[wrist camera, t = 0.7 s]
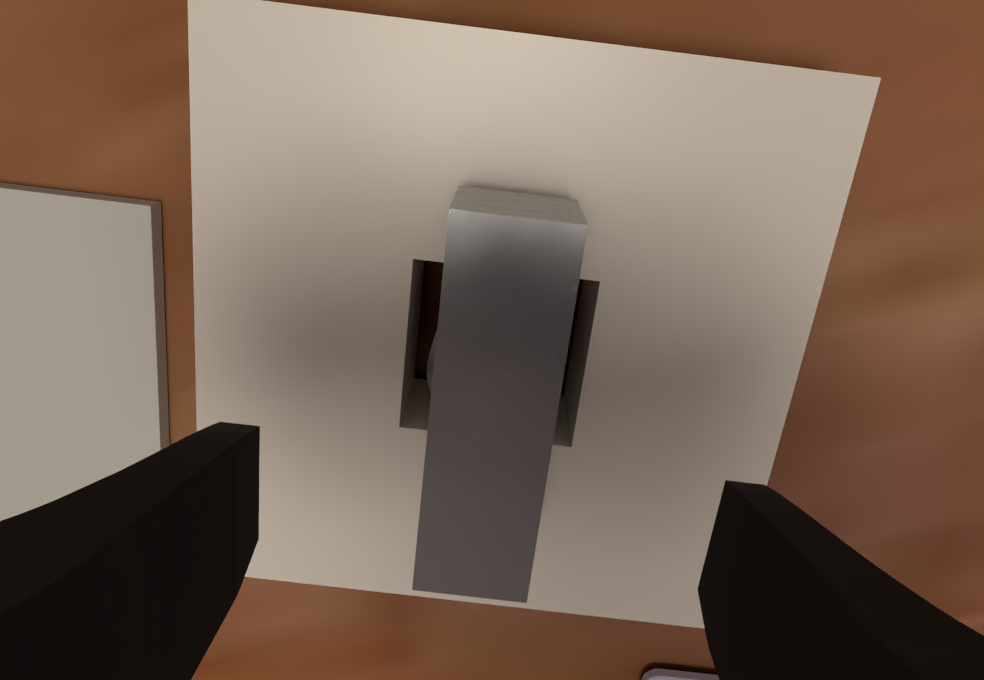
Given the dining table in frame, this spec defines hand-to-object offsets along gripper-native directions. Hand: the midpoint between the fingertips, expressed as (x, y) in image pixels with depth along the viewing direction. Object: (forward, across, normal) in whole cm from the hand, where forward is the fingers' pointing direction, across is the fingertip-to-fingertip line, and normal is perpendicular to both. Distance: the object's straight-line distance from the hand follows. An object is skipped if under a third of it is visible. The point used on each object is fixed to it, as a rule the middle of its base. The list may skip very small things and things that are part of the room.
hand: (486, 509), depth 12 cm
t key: (+9, 0, 0) cm, 9 cm away
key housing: (+9, 0, 0) cm, 9 cm away
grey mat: (+9, +14, +3) cm, 17 cm away
